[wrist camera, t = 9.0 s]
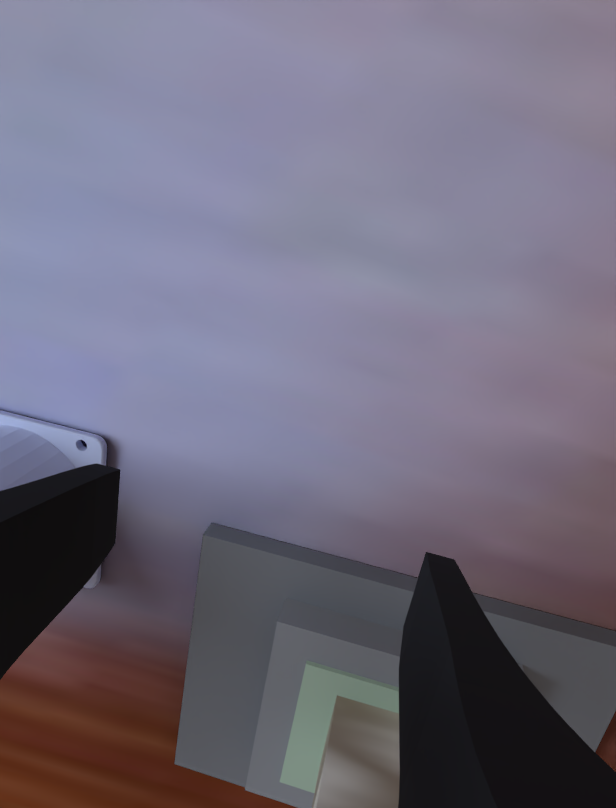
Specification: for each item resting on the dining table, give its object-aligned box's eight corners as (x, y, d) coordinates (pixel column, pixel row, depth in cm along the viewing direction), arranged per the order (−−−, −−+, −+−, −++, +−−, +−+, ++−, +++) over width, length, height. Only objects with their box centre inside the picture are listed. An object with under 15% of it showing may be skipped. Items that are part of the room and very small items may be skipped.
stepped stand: (182, 746, 29) (159, 796, 27) (211, 522, 24) (187, 557, 22) (527, 858, 27) (537, 924, 25) (634, 636, 22) (661, 689, 20)
